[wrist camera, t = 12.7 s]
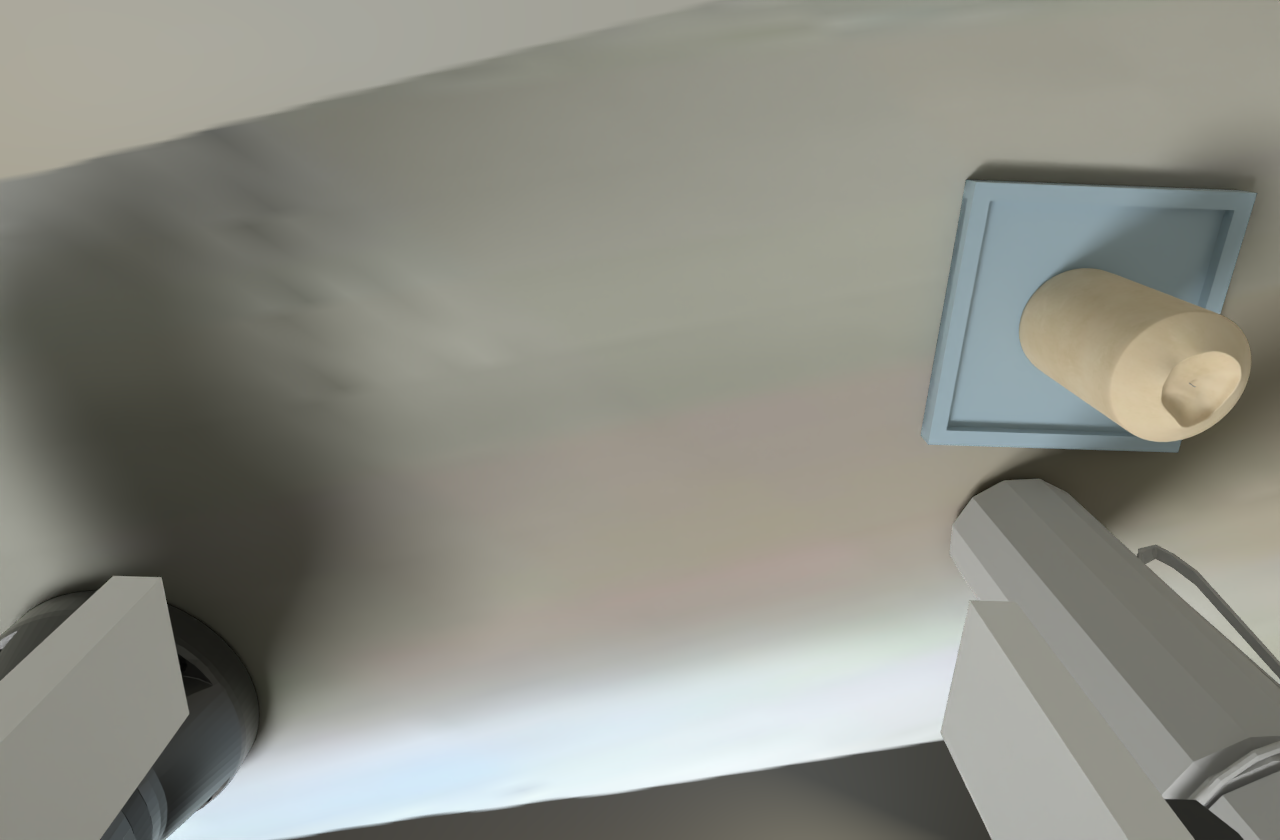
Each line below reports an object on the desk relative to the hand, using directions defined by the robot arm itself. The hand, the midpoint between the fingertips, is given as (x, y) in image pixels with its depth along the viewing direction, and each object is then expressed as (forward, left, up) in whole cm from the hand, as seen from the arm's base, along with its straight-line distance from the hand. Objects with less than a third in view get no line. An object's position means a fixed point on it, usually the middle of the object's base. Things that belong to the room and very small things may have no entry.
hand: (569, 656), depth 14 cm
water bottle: (+23, -13, -29) cm, 39 cm away
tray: (+23, -1, -29) cm, 37 cm away
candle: (+23, -1, -28) cm, 36 cm away
